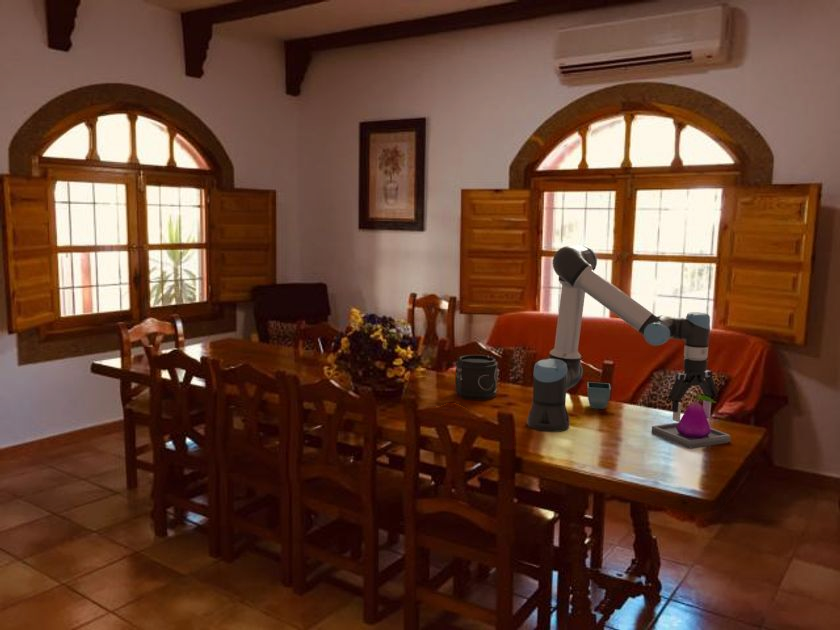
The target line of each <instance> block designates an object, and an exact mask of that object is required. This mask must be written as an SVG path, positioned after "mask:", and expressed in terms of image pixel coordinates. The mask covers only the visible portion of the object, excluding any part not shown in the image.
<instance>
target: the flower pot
mask: <svg viewBox="0 0 840 630" xmlns="http://www.w3.org/2000/svg"><path fill="white" fill-rule="evenodd" d="M586 383H587V384H586V385H587V387H586V388H587V400H588V404H589V406H590V408H591V409H601V410H605V408H607V405H608V404H609V401H610V397H611V390H612V387H611V384H610V383H609V382H608V383H606V382H604V383H603V382H594V381H593V382H592V381H591V382H590V381H587V382H586Z"/></svg>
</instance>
